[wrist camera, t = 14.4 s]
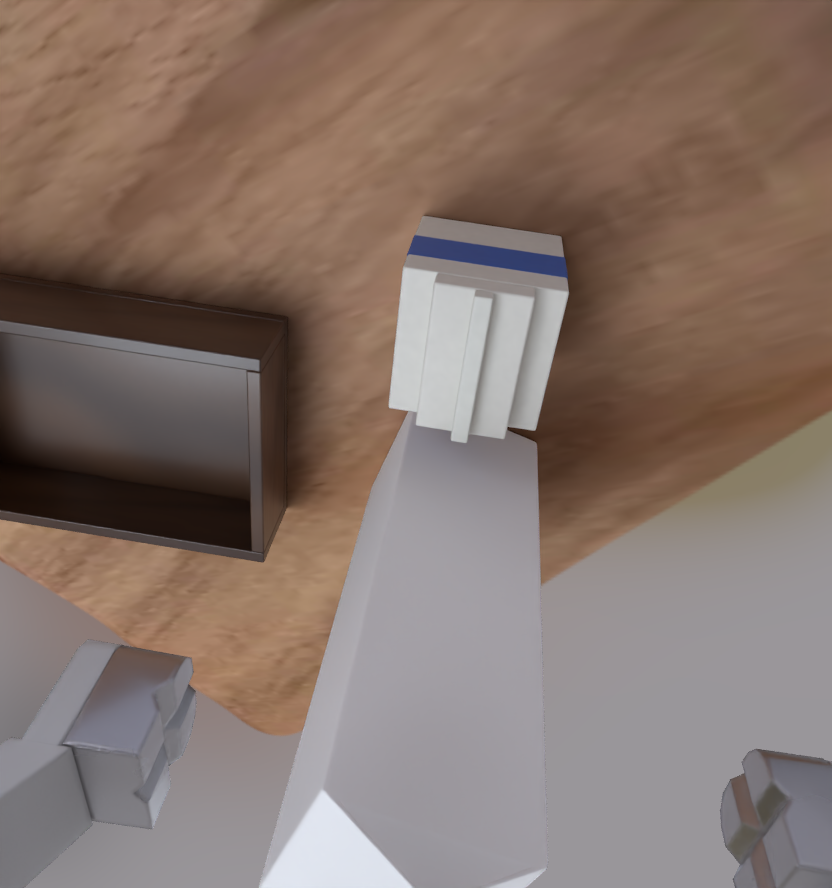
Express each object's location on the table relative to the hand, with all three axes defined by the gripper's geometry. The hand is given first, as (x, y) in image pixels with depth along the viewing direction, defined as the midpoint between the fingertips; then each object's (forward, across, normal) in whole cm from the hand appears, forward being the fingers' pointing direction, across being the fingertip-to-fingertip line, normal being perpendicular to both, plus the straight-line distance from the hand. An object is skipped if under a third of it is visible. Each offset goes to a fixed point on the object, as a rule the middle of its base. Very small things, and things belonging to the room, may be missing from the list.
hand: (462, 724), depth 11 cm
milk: (+22, 0, +11) cm, 24 cm away
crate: (+22, +16, +10) cm, 29 cm away
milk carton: (+22, 0, +2) cm, 22 cm away
